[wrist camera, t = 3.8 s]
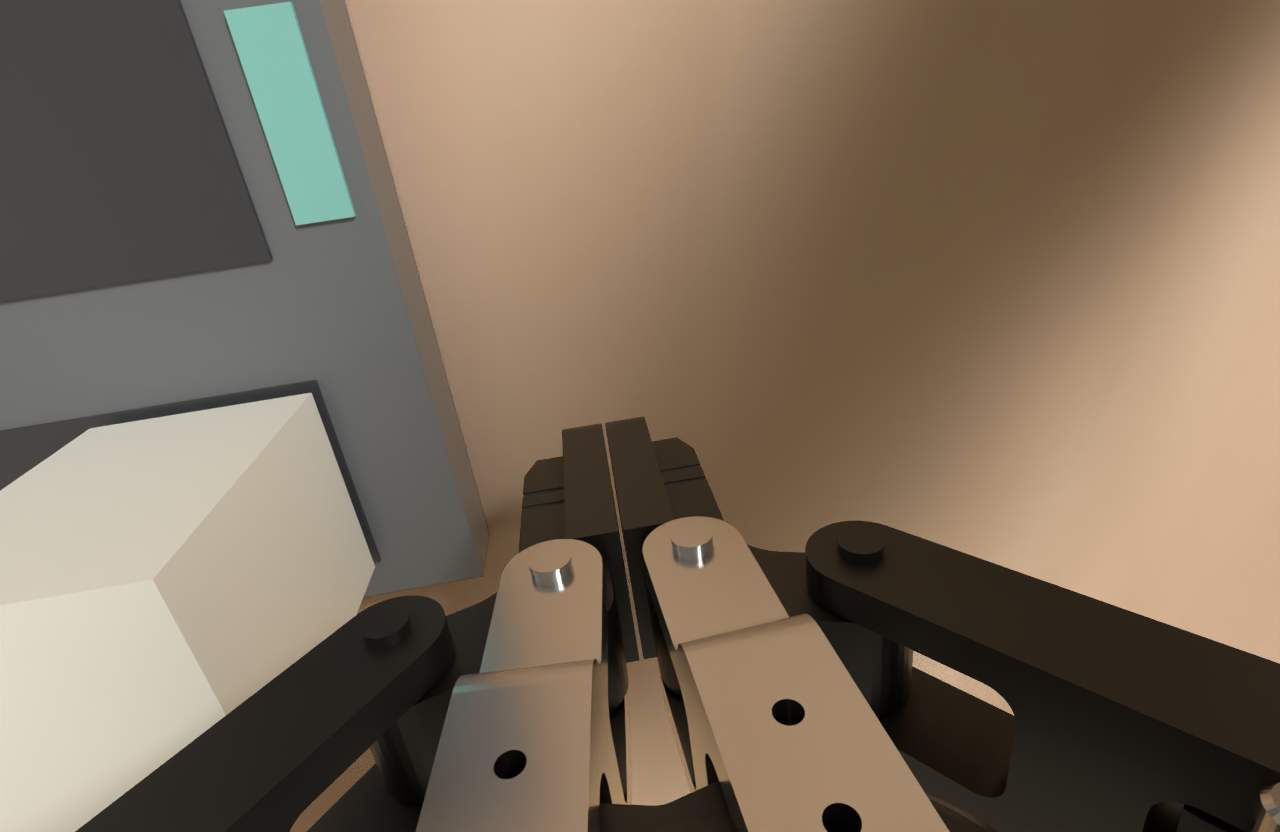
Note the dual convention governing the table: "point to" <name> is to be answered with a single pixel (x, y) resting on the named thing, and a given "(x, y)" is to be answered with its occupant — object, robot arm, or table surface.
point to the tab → (161, 593)
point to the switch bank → (221, 252)
